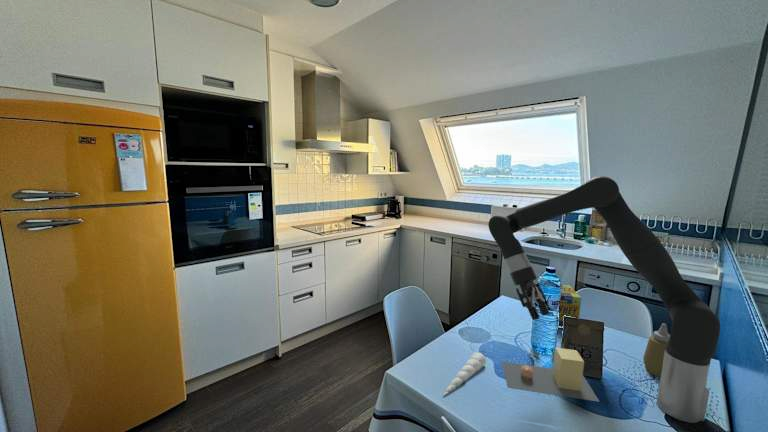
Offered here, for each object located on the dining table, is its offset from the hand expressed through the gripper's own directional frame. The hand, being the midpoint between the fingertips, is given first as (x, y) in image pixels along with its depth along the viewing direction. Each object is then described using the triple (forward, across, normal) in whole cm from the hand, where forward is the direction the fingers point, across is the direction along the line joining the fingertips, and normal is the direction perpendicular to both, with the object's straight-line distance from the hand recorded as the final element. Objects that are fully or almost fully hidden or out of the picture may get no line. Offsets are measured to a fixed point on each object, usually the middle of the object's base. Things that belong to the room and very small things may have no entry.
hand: (541, 316), depth 101 cm
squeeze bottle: (+29, +37, -14) cm, 49 cm away
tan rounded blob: (+17, +1, +13) cm, 22 cm away
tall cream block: (+21, +7, +5) cm, 23 cm away
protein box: (+8, +53, +15) cm, 55 cm away
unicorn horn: (+12, -14, +27) cm, 33 cm away
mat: (+20, +4, +9) cm, 22 cm away
